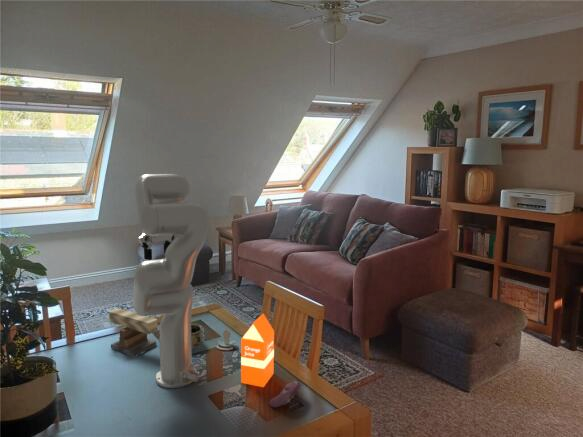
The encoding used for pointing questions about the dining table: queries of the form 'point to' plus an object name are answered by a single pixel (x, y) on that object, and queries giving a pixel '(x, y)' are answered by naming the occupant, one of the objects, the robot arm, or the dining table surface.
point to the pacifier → (225, 341)
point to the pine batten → (133, 321)
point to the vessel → (196, 336)
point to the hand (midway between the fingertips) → (158, 256)
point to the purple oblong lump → (286, 394)
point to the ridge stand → (132, 342)
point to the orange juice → (257, 353)
